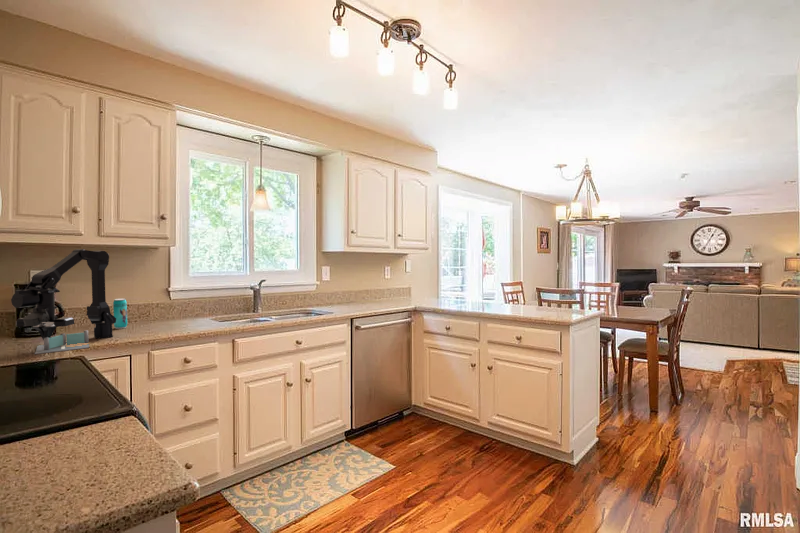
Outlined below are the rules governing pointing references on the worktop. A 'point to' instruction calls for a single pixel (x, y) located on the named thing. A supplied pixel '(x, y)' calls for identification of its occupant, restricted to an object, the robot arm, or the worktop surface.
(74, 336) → the fence fixed
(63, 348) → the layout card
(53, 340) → the fence gate
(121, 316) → the beverage can
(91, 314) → the robot arm
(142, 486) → the worktop surface
